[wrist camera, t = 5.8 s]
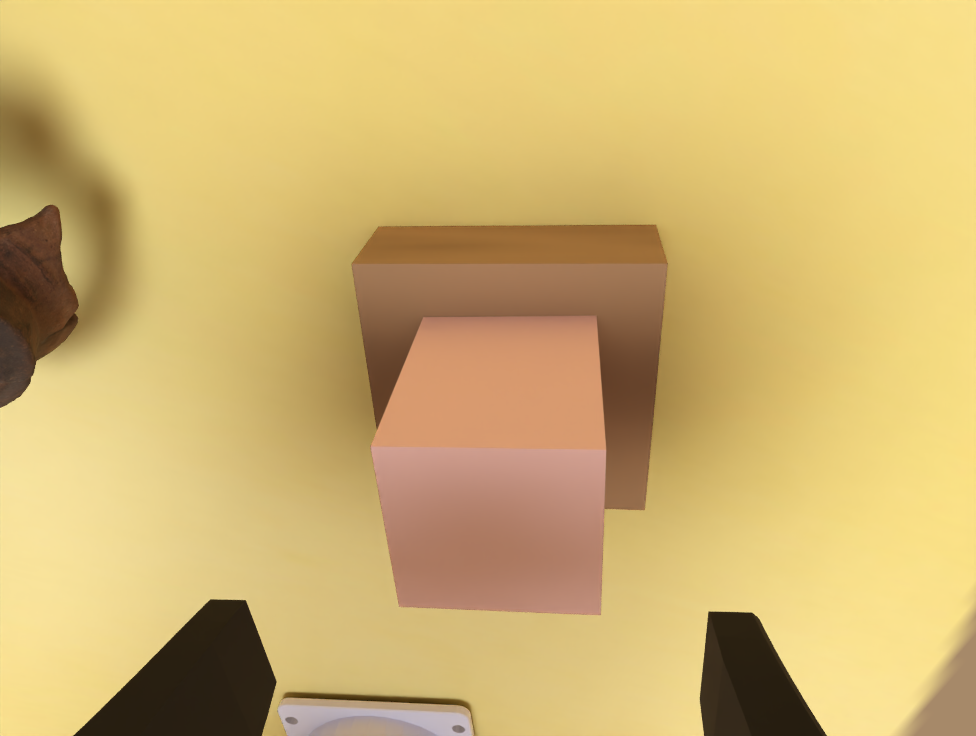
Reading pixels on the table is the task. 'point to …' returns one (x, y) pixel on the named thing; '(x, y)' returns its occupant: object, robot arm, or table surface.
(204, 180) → the table surface
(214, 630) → the robot arm
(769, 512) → the table surface
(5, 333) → the brown curved piece
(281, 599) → the table surface
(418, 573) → the pink block
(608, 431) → the brown block
